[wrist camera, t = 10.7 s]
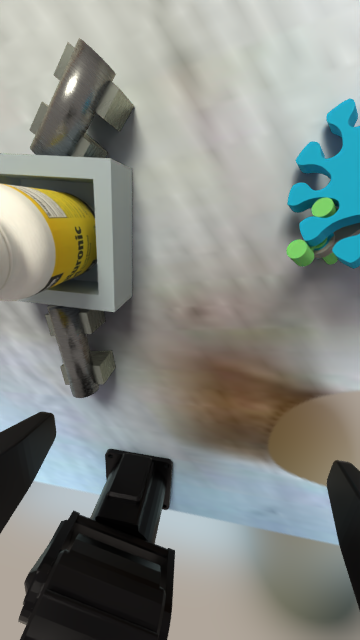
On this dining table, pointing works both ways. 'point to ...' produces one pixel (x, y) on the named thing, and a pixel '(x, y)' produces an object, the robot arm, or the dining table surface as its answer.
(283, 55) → the dining table surface
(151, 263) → the dining table surface
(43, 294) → the housing
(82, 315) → the shaft
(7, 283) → the supplement bottle
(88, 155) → the shaft
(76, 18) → the dining table surface
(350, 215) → the gear
